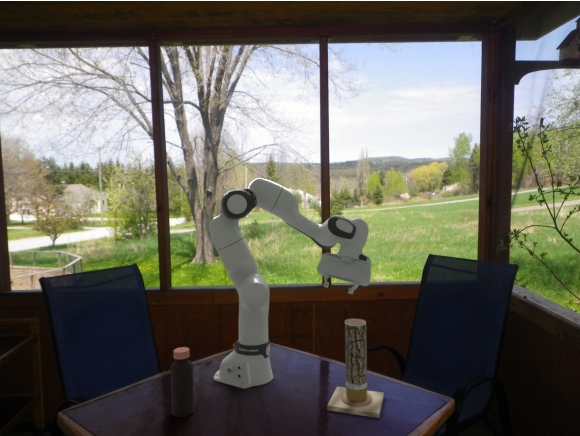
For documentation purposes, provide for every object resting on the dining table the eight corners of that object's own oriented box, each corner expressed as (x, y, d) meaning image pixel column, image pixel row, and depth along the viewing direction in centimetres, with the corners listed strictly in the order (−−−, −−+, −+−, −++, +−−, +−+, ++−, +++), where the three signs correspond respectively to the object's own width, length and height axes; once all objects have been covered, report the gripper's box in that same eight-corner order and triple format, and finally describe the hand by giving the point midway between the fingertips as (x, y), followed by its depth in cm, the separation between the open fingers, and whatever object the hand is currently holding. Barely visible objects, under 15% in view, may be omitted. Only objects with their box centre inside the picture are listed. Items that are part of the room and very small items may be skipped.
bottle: (182, 420, 121) (180, 355, 120) (167, 414, 125) (165, 351, 124) (198, 410, 127) (197, 348, 126) (183, 405, 130) (182, 344, 130)
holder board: (327, 410, 126) (327, 404, 125) (337, 390, 139) (337, 385, 139) (379, 418, 120) (378, 412, 120) (384, 397, 133) (384, 391, 133)
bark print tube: (367, 403, 126) (366, 324, 125) (345, 402, 127) (344, 324, 126) (367, 393, 132) (366, 318, 132) (346, 392, 133) (345, 318, 133)
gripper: (321, 247, 153) (309, 279, 147) (374, 259, 145) (364, 293, 139) (324, 255, 158) (312, 286, 152) (375, 267, 150) (365, 300, 144)
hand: (337, 289), depth 145 cm, fingers open, 8 cm apart
